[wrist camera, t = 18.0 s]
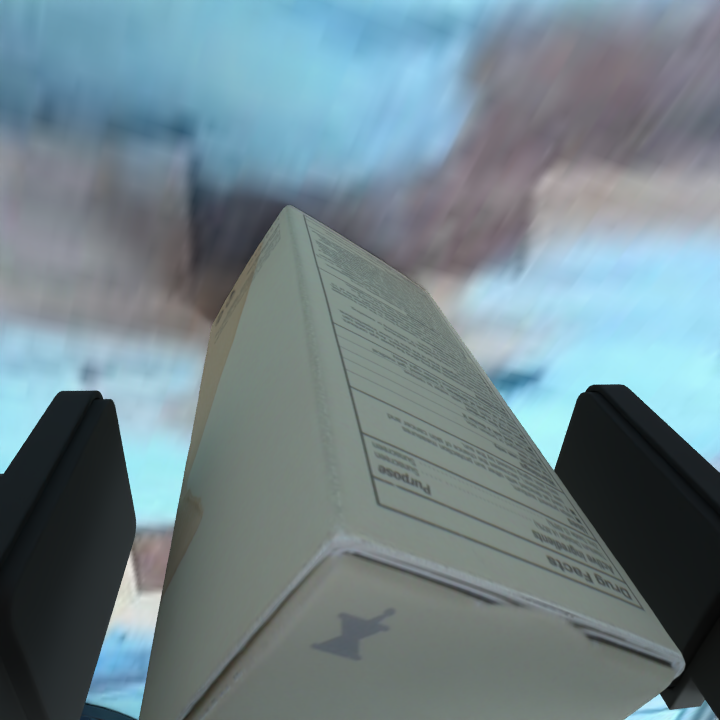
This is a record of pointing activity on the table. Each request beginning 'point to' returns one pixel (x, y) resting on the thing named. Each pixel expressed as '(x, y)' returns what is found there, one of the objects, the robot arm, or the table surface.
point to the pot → (101, 714)
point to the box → (378, 523)
